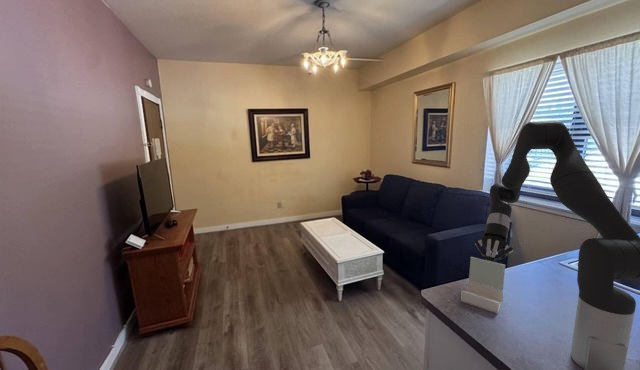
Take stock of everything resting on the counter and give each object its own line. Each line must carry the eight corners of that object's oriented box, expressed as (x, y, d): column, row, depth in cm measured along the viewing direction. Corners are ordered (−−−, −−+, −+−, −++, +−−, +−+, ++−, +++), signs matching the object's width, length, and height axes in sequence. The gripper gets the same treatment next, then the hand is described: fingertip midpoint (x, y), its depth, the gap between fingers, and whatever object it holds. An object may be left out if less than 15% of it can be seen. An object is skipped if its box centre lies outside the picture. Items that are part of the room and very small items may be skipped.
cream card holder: (502, 301, 92) (503, 290, 92) (497, 314, 86) (498, 303, 85) (467, 289, 100) (467, 280, 99) (460, 301, 93) (460, 290, 93)
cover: (502, 290, 92) (503, 289, 92) (505, 265, 91) (505, 264, 91) (468, 280, 99) (469, 279, 99) (470, 257, 98) (471, 256, 98)
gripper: (476, 219, 106) (467, 258, 99) (517, 225, 97) (509, 269, 90) (479, 228, 110) (470, 266, 104) (518, 235, 102) (510, 277, 95)
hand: (488, 267), depth 97 cm, fingers closed
